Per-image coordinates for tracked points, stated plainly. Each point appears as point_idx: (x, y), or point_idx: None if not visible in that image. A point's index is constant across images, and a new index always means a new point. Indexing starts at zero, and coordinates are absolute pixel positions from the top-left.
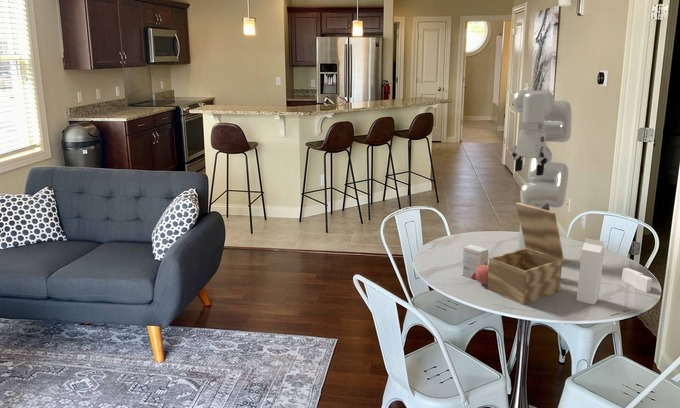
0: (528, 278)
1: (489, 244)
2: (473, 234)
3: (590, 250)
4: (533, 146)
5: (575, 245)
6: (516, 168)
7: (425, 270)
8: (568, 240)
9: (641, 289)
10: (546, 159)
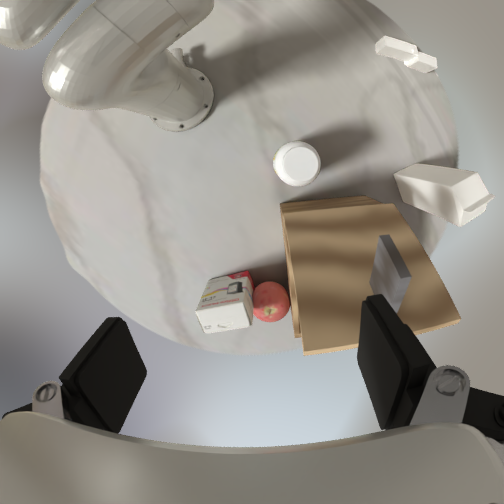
0: None
1: (94, 141)
2: (47, 141)
3: (472, 218)
4: None
5: None
6: (136, 386)
7: (173, 334)
8: None
9: (419, 70)
10: (500, 437)
